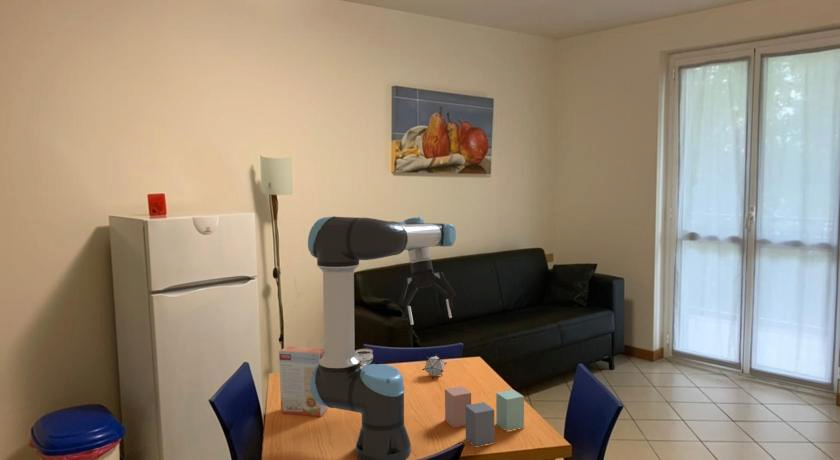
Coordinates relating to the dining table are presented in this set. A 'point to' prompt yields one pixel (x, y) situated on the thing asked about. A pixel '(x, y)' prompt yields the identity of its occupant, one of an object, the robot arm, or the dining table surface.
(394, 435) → the robot arm
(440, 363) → the game die
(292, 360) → the cracker box
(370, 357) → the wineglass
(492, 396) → the dining table surface
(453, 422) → the pink block
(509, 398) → the sage block
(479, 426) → the slate blue block
